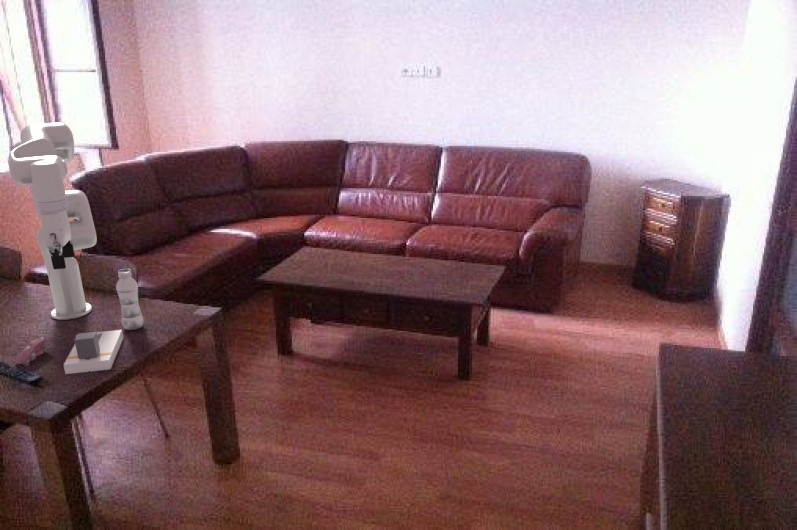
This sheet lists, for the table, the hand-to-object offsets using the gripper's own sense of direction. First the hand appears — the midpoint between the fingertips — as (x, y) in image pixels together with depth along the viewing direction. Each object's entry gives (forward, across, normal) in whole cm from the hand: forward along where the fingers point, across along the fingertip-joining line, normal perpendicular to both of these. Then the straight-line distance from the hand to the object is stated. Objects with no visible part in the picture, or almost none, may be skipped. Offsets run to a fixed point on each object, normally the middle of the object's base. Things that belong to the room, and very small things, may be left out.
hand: (64, 262), depth 186 cm
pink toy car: (+28, +2, -12) cm, 31 cm away
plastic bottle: (+28, -12, +13) cm, 33 cm away
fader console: (+28, +5, +5) cm, 29 cm away
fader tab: (+25, +11, +5) cm, 28 cm away
